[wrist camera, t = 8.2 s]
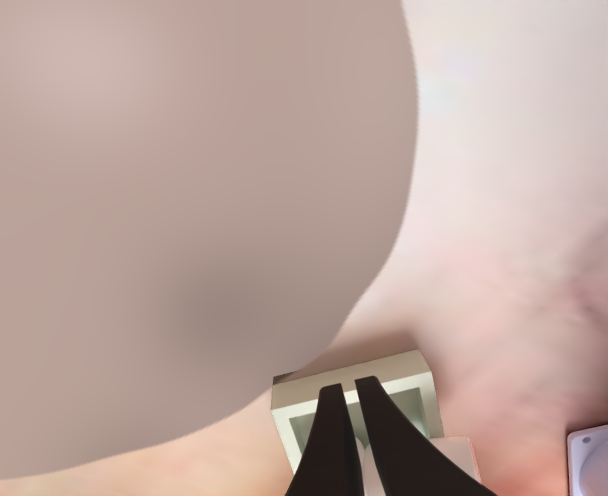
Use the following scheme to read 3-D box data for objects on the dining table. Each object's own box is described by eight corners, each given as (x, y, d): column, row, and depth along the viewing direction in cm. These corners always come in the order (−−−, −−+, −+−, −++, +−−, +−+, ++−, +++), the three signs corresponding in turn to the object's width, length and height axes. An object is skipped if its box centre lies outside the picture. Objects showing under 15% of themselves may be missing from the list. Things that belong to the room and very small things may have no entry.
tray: (414, 341, 24) (431, 371, 21) (447, 495, 28) (464, 538, 25) (273, 376, 24) (270, 410, 21) (324, 522, 28) (328, 567, 25)
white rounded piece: (385, 470, 24) (478, 466, 22) (382, 532, 21) (491, 533, 19) (367, 429, 23) (464, 420, 21) (361, 487, 20) (474, 483, 18)
